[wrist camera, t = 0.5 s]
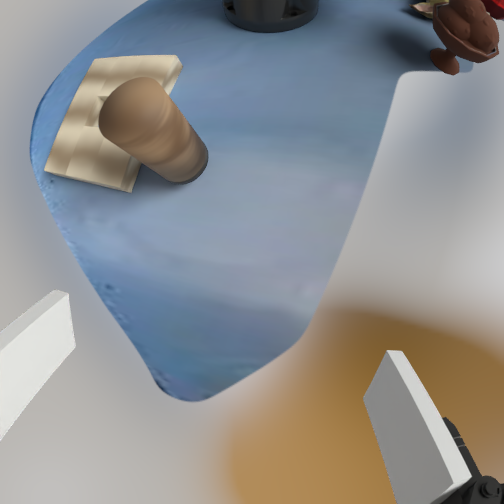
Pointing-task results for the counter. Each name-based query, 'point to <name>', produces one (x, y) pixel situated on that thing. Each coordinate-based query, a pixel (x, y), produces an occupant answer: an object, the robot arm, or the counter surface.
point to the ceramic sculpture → (427, 7)
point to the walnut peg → (153, 130)
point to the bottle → (494, 8)
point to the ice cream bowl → (463, 34)
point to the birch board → (86, 122)
